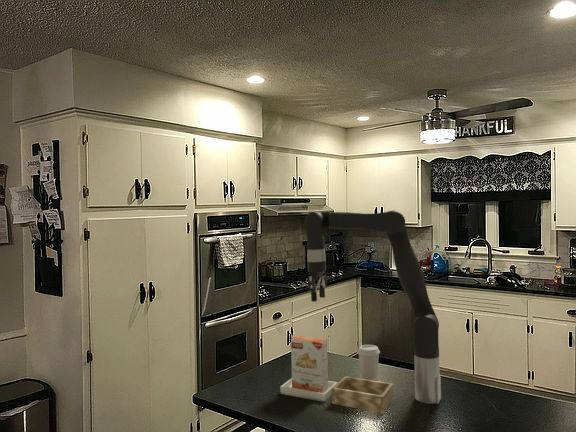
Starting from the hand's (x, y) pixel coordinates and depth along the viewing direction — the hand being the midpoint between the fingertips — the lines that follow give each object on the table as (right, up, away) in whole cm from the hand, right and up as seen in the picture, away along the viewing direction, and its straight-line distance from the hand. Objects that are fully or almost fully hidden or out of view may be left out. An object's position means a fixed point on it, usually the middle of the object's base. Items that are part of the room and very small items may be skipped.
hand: (318, 299), depth 194 cm
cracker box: (-3, -37, -1) cm, 37 cm away
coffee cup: (+22, -37, +8) cm, 44 cm away
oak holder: (+17, -38, -11) cm, 43 cm away
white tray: (-4, -38, -1) cm, 38 cm away
